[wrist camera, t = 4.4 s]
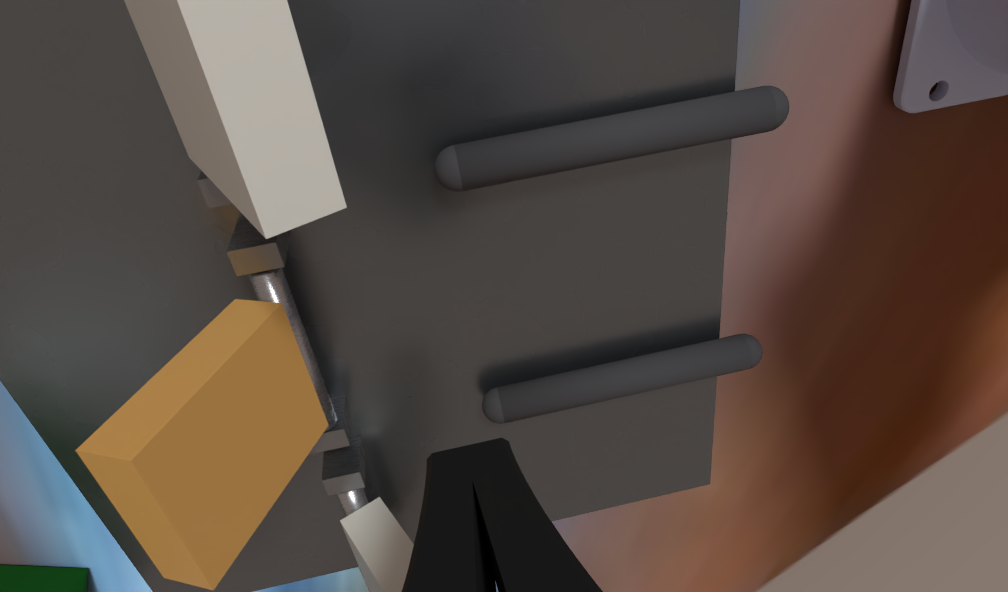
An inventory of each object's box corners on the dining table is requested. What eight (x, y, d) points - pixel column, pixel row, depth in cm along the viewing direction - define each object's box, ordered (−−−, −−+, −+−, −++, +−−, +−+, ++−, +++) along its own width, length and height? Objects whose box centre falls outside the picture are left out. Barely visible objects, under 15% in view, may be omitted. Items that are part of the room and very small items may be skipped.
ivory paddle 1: (177, -79, 11) (264, -78, 8) (252, 136, 13) (346, 207, 10) (97, -64, 10) (156, -57, 7) (189, 157, 12) (265, 239, 9)
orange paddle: (281, 303, 14) (131, 461, 11) (328, 425, 16) (213, 590, 13) (234, 299, 15) (75, 450, 11) (286, 418, 17) (163, 578, 13)
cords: (776, 77, 15) (800, 89, 14) (750, 351, 20) (767, 372, 19) (428, 142, 15) (432, 159, 14) (482, 410, 19) (487, 435, 18)
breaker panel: (718, -245, 13) (796, -267, 11) (691, 461, 24) (727, 526, 22) (-267, -96, 12) (-423, -84, 9) (183, 578, 23) (163, 661, 21)
